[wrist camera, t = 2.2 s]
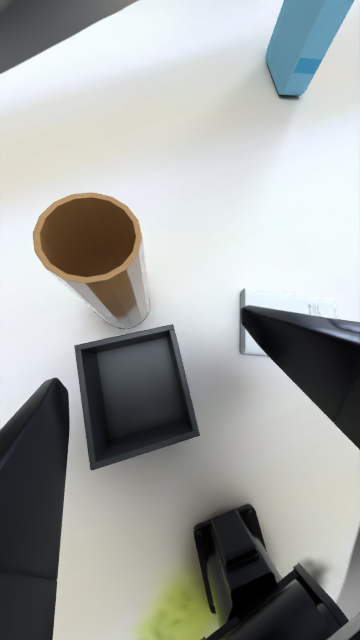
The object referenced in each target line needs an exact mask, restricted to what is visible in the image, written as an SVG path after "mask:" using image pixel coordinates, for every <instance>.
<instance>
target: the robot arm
mask: <svg viewBox="0 0 360 640" xmlns="http://www.w3.org/2000/svg"><path fill="white" fill-rule="evenodd" d="M241 323H242V325H243V327H244V328H245V329H246V330H247V332H248V333H249V334H250V336H251V337H252V338H253V339H254V341H255V342H256V343H257V344H258V346H259V347H260V348H261V349H262V350H263V351H264V352H265V353H266V354H267V355H268V356H269V357H270V358H271V359H272V360H273V361H274V362H275V363H276V364H277V365H278V366H279V367H280V368H281V369H282V370H283V371H284V372H285V373H286V375H287V376H288V377H289V378H290V379H291V380H292V381H293V382H294V383H295V384H296V385H297V386H298V387H299V388H300V389H301V390H302V391H303V392H304V393H305V394H306V395H307V396H308V397H309V398H310V399H311V400H312V401H313V402H314V403H315V404H316V405H317V406H318V407H319V408H320V409H321V410H322V411H323V412H324V413H325V414H326V415H327V416H328V418H329V419H330V420H331V421H332V422H334V424H335V425H336V426H337V427H338V428H339V429H340V430H341V431H342V432H343V433H344V434H345V435H346V436H347V437H348V438H349V439H350V440H351V441H352V442H353V443H354V444H355V445H356V446H357V447H358V448H359V449H360V322H354V321H347V320H340V319H333V318H325V317H321V316H314V315H308V314H302V313H296V312H289V311H283V310H277V309H271V308H265V307H258V306H252V305H247V306H245V307H242V308H241ZM68 442H69V399H68V391H67V389H66V388H65V387H64V385H63V384H62V383H61V382H60V380H59V379H58V378H52V379H50V380H47V381H45V382H44V383H43V384H42V385H41V386H40V387H39V388H38V390H37V391H36V392H35V393H34V394H33V395H32V396H31V397H30V398H29V399H28V400H27V402H26V403H25V404H24V405H23V406H22V407H21V408H20V409H19V410H18V411H17V412H16V414H15V415H14V416H13V417H12V418H11V419H10V420H9V421H8V422H7V423H6V424H5V426H4V427H3V428H2V429H1V430H0V640H52V639H53V627H54V615H55V603H56V590H57V576H58V564H59V551H60V539H61V527H62V515H63V503H64V490H65V478H66V466H67V454H68ZM250 510H252V511H251V513H249V511H250ZM198 531H200V534H197V532H198ZM193 533H194V538H195V543H196V547H197V552H198V557H199V561H200V566H201V571H202V575H203V580H204V585H205V589H206V594H207V599H208V603H209V608H210V611H211V612H212V613H214V614H216V615H217V619H218V623H219V627H220V628H219V629H218V630H216V631H215V632H214V633H213V634H211V635H210V636H209V637H208V638H206V639H205V637H203V638H202V639H201V640H360V612H359V613H358V614H357V615H356V616H355V617H354V618H352V619H351V620H350V621H349V620H348V619H347V618H346V616H345V615H344V613H343V612H342V611H341V609H340V608H339V607H338V606H337V604H336V603H335V602H334V601H333V600H332V599H331V597H330V596H329V595H328V594H327V593H326V592H325V591H324V590H323V589H322V588H321V587H320V585H319V584H318V583H317V582H316V581H315V580H314V579H313V578H312V577H311V576H310V575H309V573H308V572H307V571H306V570H305V569H304V568H303V567H302V566H301V565H300V564H299V563H298V564H297V565H296V566H294V567H293V568H294V570H293V571H292V572H290V573H289V574H288V575H287V576H285V577H284V578H283V579H282V577H281V576H280V574H279V572H278V571H277V569H276V567H275V566H274V564H273V562H272V560H271V559H270V557H269V555H268V554H267V551H266V548H265V544H264V540H263V537H262V533H261V529H260V526H259V522H258V519H257V515H256V511H255V509H254V508H253V506H252V505H250V504H249V505H246V506H243V507H241V508H238V509H236V510H235V509H234V510H231V511H229V512H226V513H224V514H221V515H219V516H216V517H214V518H212V519H211V520H208V521H206V522H203V523H201V524H198V525H196V526H195V527H194V530H193ZM213 603H214V605H213Z"/></svg>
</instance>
